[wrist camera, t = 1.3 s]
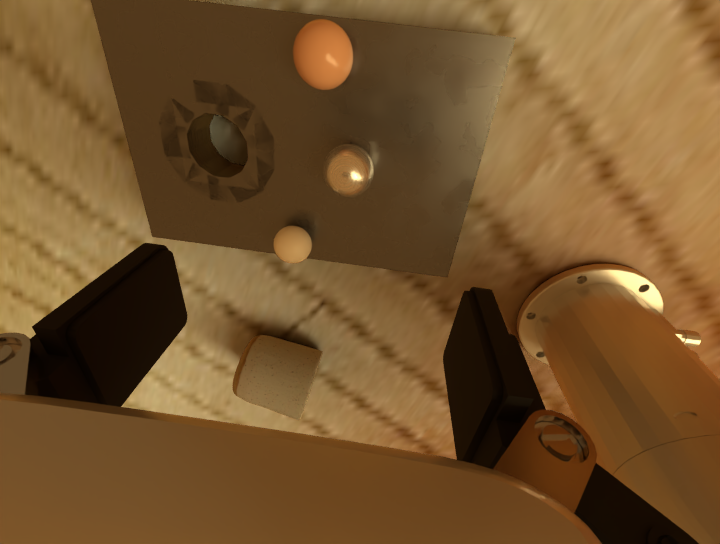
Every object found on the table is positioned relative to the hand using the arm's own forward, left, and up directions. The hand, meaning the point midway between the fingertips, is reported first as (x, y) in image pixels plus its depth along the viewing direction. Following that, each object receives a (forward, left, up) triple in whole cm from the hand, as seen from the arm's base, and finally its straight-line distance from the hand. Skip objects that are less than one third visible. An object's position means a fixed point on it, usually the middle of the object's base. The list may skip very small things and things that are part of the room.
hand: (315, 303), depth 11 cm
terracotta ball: (+3, -6, -15) cm, 16 cm away
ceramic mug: (+7, +25, -20) cm, 33 cm away
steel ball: (+1, 0, -15) cm, 15 cm away
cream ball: (+5, +7, -15) cm, 17 cm away
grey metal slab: (+5, 0, -20) cm, 21 cm away
